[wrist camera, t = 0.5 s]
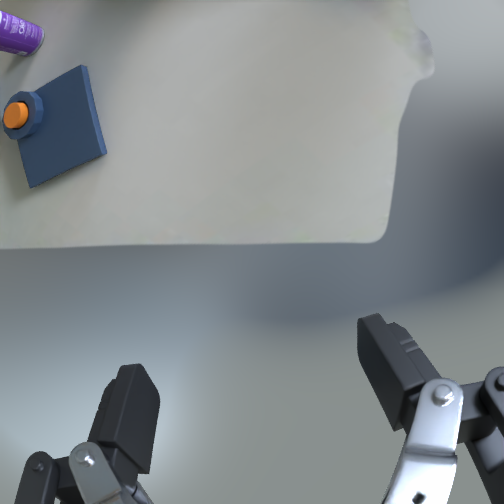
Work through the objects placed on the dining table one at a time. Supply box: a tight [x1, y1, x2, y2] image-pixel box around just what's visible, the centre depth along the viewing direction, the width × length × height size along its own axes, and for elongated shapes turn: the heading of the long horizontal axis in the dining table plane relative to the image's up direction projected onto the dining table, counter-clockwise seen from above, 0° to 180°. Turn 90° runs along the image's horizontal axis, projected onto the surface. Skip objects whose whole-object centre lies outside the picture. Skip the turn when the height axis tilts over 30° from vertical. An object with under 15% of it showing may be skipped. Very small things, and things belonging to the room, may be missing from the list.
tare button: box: [4, 103, 29, 128], centre depth 24 cm, size 3×3×2 cm
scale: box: [2, 65, 107, 188], centre depth 28 cm, size 12×13×4 cm
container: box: [0, 10, 44, 56], centre depth 17 cm, size 5×5×15 cm
